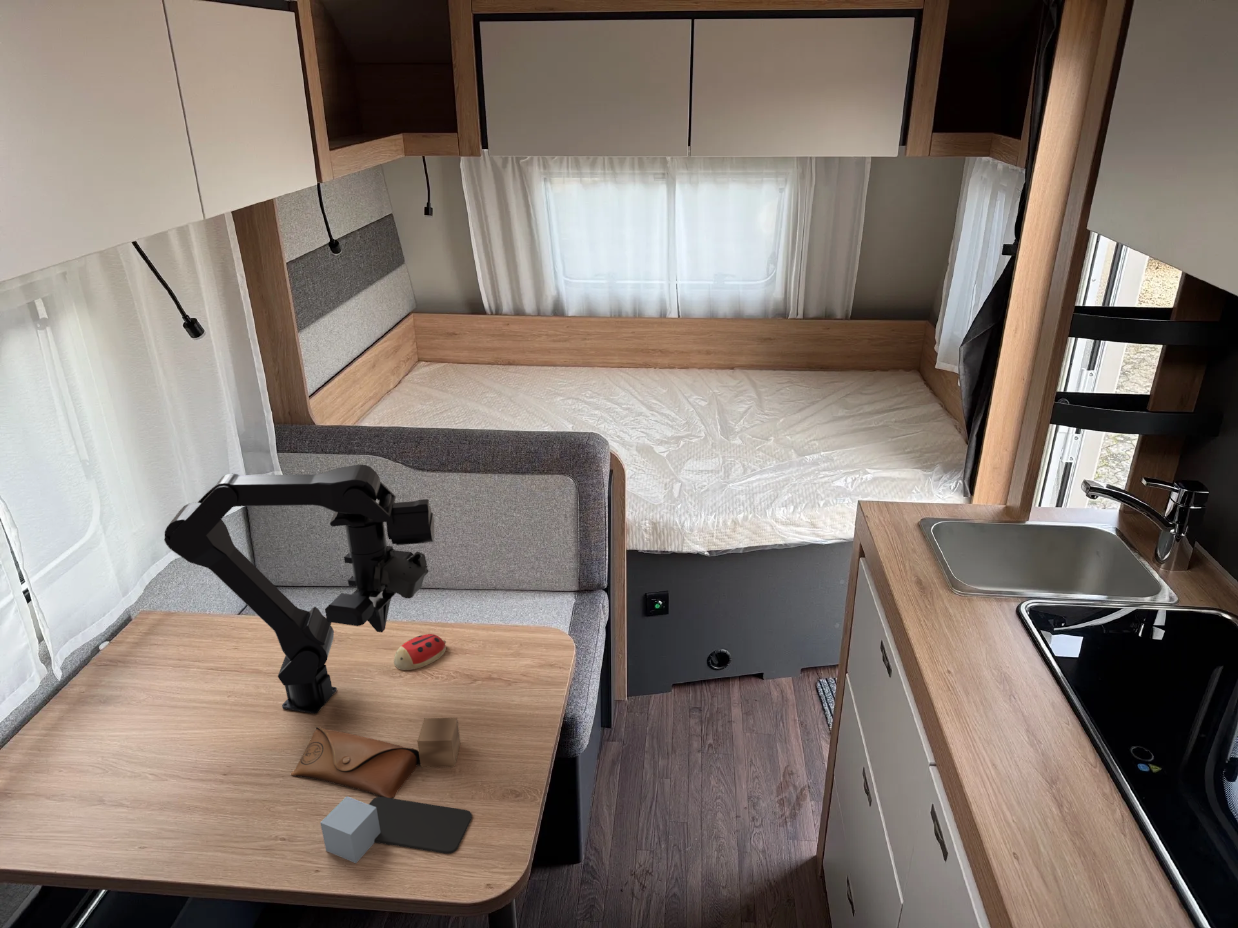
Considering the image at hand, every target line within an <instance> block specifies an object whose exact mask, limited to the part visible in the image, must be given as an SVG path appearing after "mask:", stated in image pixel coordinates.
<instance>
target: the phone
mask: <svg viewBox="0 0 1238 928" xmlns="http://www.w3.org/2000/svg"><path fill="white" fill-rule="evenodd" d="M368 804H369V805H371V806H374V807H376V809H377V814H378V820H379V826H380V832H381V833H380V834H379V835H378V836H377V837H376V838H375V840H374V844H383V845H388V846H395V847H402V848H407V849H414V850H420V851H425V852H430V853H431V852H433V853H438V854H443V855H444V854H445V855H449V854H453V853H455V852H456V851H457V850H458V849H459V847H460V845H461V843H462V841H463V839H464V836H465V834H466V833H467V830H468V828H469V826H470V824H471V822H472V819H473V814H472V812H471V811H469V810H467V809H462V808H458V807H457V808H456V807H450V806H444V805H437V804H430V803H424V802H418V801H411V800H405V799H398V798H387V797H379V796H376V797H374V798H373V799H371V800H370V802H369V803H368Z"/></svg>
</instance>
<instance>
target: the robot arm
mask: <svg viewBox="0 0 1238 928" xmlns="http://www.w3.org/2000/svg"><path fill="white" fill-rule="evenodd" d="M396 498H397V497H396V495H395V494H394V492H392V491H391V490H390V489H389V488H388V487H387V486H386V485H385V484H384V483H383V482H382V481H381V479H380V475H379V474H378V473H377V471H375V469H373V468H372V467H371V466H369V465H367V464H355V465H354V464H353V465H349V466H341V467H337V468H335V469H331V470H328V471H326V472H322V473H317V474H241V475H240V474H237V473H227V474H225V475H222V476H221V478H220V479H219V480H218V481H217V482H216V484H215V485H214V486H213V487H212V488H211V489H209V490H208V491H207V492H206V493H205V494H204V495H203V496H202V497H201V498H200V499H199V500H198V501H197V502H190V503H187V504H186V505H184V506H183V507H181V509H179V510H178V512H177V513H176V515H175V516H174V517H173V519H171V521H170V523H168V525H167V526H166V528H165V531H164V540H163V541H164V544H165V545H166V546H167V547H168V549H170V550H171V551H172V552H173V553H175V554H176V555H178V556H179V557H181V558H182V559H184V560H185V561H187V562H188V563H189V564H194V565H196V566H199V567H200V566H201V567H203V568H207V569H208V570H209V571H211V572H212V573H213V574H214V575H215V576H216V577H217V578H218V579H219V580H220V581H221V582H222V583H224V585H226V586H227V587H228V589H229V590H231V591H232V592H233V594H235V595H236V596H237V597H238V598H239V599H240V600H242V601H243V603H244V604H245V605H246V606H248V607H249V608H250V610H251V611H253V612H254V614H256V616H258V617H259V618H260V619H261V620H262V622H264V623H265V624H266V625H267V626H268V627H269V628H270V629H272V630H273V632H274V634H275V636H276V638H277V641H278V644H279V646H280V648H281V651H282V653H284V658H283V662H282V664H281V667H280V670H279V672H278V674H277V678H278V680H279V681H280V682H281V684H282V685H283V686H284V688H285V692H286V697H287V699H286V700H285V701H284V702H283V703H282V704H281V707H282V709H283V710H289V711H295V712H300V713H301V712H302V713H308V714H312V715H313V714H314V715H315V714H318V713H319V711H321V709H322V708H323V707H324V706H325V705H327V703H328V702H329V700H330V699H331V698H332V697H333V696H334V695H335V694H336V692H338V687H337V686H333V685H332V680H331V675H330V674H328V669H327V665H326V663H327V660H328V659H329V654H330V652H331V648H332V644H333V641H334V639H335V638H334V636H335V631H334V628H333V626H332V623H333V624H339V625H346V626H353V627H360V626H364V624H366V622H368V623H369V624H370V626H371V627H373V629H374V630H375V631H376V632H377V633H383V632H384V631H385V630H386V625H387V621H388V615H389V611H390V603H391V600H392V597H394V596H395V595H396V594H398V595H400V596H401V597H402V598H403V599H412V598H413V597H414V596H415V594H416V593H418V591H419V590H421V588H422V587H423V583H424V580H425V577H426V576H427V574H428V573H429V569H428V567H429V566H428V565H427V564H428V562H427V559H426V555H425V554H424V553H422V552H419V551H416V552H414V553H413V552H412V551H406V550H398V549H394V547H393V546H391V545H388V543H387V538H388V540H391V543H392V545H396V546H406V545H417V544H419V545H420V544H431V543H435V520H434V519H435V517H434V513H433V511H432V508H431V506H430V500H429V499H428V498H426V499H425V498H424V499H418V500H413V501H402V502H401V501H399V502H396ZM377 500H378V502H377ZM279 506H280V507H281V506H283V507H285V506H286V507H287V506H289V507H293V506H295V507H297V506H301V507H302V506H314V507H315V506H316V507H321V508H324V509H327V510H329V511H331V512H333V515H332V517H331V520H330V522H329V525H330V526H331V527H342V526H344V529H345V534H346V535H345V536H346V541H347V548H348V553H347V554H345V555H344V556H343V558H344V559H343V560H344V564H350V565H351V573H352V576H351V577H350V578H348V579H347V583H348V587H354V588H356V590H355V591H353V592H352V593H351V594H350V593H340V594H339V595H338V596H337V597H336V598H335V599H334V600H332V602H330V603H329V604H328V605H327V606H326V607H325V609H324V612H325V615H323V613H322V612H321V611H320V609H319V608H318V607H317V606H313V607H312V608H311V609H310V610H309V611H308V610H305V609H302V608H299V607H297V606H296V605H295V604H294V603H293V602H292V601H291V600H290V599H289V598H288V597H287V596H286V595H285V594H284V593H283V592H282V591H281V590H279V588H278V587H277V586H276V585H275V584H273V583H272V582H271V580H270V579H269V578H268V577H266V576H265V575H264V573H262V572H261V571H260V570H259V569H258V567H256V565H255V564H253V563H252V562H251V560H250V559H248V558H247V557H246V556H245V555H244V554H243V553H242V552H241V550H239V549H238V548H237V547H236V545H234V543H233V540H232V538H231V535H230V531H229V528H228V526H227V525H226V523H225V522H224V520H223V518H224V516H226V515H227V514H228V513H229V511H230V510H232V509H233V508H236V507H279ZM385 523H386V529H385V525H384V524H385ZM386 534H387V536H386Z"/></svg>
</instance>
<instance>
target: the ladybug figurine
mask: <svg viewBox="0 0 1238 928" xmlns="http://www.w3.org/2000/svg"><path fill="white" fill-rule="evenodd" d="M446 643H447V641H446V639H443V638H441V636H439V635H436V634H434V633H426V634H422V635H418V636H416V637H413V638H411V639H409V640H407V641H406V642H405V643H403V644H402V645H400V646H399V648H397V651H396V652H395V655H394V658H393V665H394V666H395V667H396V668H397V669H399V670H404V671H407V670H408V671H409V670H415V669H419V668H423V667H426V666H427V665H430V664H432V663H434V662H436V661H437V660H439V659H440V658H441V657H442V656H443V655H444V654H445V652H446V650H447V646H446Z"/></svg>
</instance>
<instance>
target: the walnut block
mask: <svg viewBox="0 0 1238 928" xmlns="http://www.w3.org/2000/svg"><path fill="white" fill-rule="evenodd" d="M416 741H417V750H418V751H419V757H420V768H455V766H456V763H457V758H458V755H459V750H460V746H461V739H460V730H459V720H458V717H424V718H423V720H422V725H421V728H420V731H419V734H418V737H417V740H416Z"/></svg>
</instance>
